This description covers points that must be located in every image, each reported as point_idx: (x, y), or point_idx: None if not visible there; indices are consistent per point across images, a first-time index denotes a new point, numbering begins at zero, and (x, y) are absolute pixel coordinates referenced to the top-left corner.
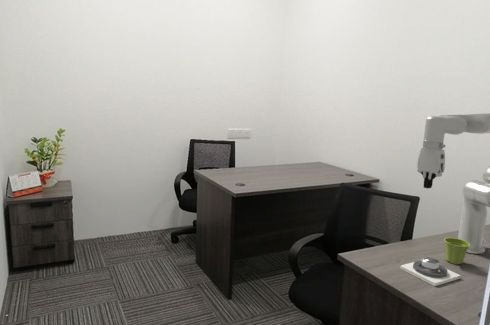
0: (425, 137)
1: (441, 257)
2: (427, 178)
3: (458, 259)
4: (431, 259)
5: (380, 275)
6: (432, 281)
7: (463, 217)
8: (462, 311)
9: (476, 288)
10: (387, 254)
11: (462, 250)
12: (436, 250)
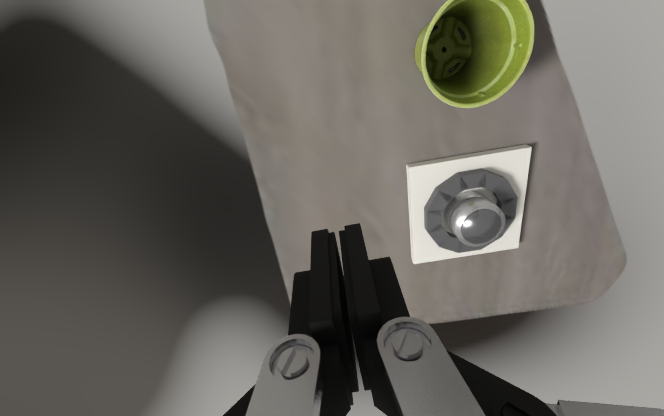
0: None
1: (399, 70)
2: (346, 380)
3: (476, 65)
4: (479, 223)
5: (421, 315)
6: (509, 247)
7: None
8: (601, 262)
9: (581, 148)
10: None
11: (505, 61)
12: (341, 29)
